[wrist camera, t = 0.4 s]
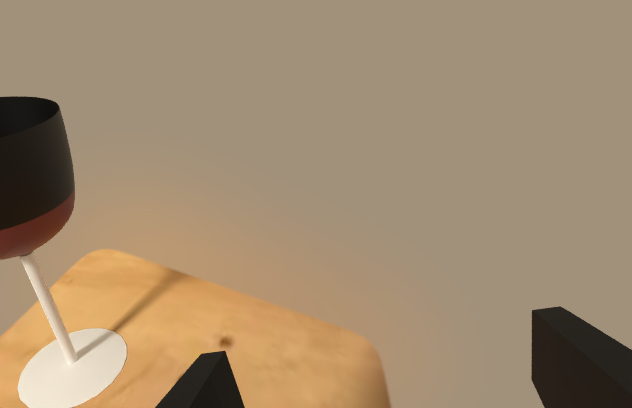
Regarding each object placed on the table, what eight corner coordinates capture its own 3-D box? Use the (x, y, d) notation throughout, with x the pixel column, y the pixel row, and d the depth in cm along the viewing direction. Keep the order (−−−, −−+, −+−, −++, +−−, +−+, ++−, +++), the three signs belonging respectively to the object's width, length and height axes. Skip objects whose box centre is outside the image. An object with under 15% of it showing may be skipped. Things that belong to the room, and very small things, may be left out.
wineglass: (-17, 394, 29) (-187, 134, 19) (84, 312, 36) (-1, 90, 26) (62, 437, 27) (-84, 166, 16) (154, 340, 34) (92, 107, 23)
